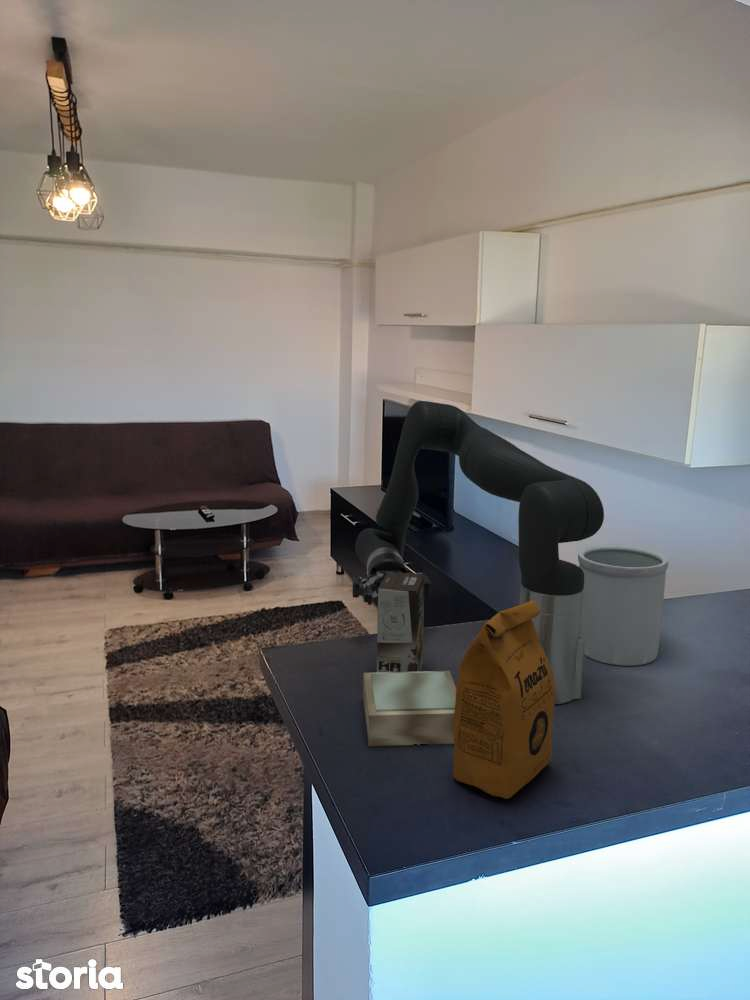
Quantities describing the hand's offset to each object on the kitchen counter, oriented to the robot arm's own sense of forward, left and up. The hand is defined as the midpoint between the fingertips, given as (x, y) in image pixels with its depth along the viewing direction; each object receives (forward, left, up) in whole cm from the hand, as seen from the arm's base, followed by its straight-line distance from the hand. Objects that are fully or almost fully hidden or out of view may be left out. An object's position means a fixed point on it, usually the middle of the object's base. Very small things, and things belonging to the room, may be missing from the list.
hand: (394, 599), depth 131 cm
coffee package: (-10, +40, -9) cm, 42 cm away
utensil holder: (-39, +3, -9) cm, 40 cm away
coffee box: (0, +11, -9) cm, 14 cm away
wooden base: (0, +26, -9) cm, 28 cm away
